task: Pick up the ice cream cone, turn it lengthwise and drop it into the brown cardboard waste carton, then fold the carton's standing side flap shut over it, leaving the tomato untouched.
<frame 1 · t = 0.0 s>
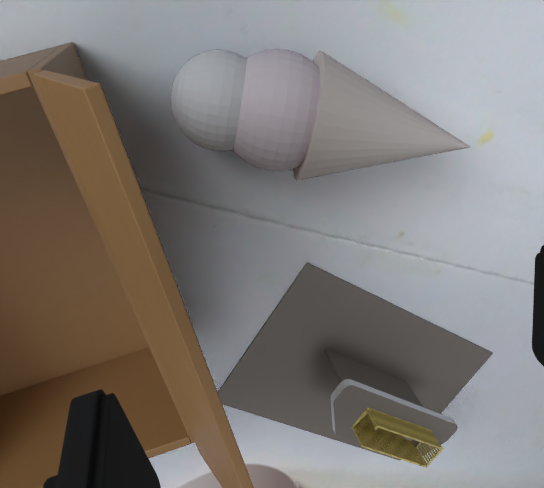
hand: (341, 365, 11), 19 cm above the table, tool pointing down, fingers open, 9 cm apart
ice cream cone: (307, 104, 28), on the table
carton: (22, 247, 28), on the table
flap: (168, 338, 18), point 12 cm above the table, hinge at 110.0°
platform: (359, 373, 37), on the table
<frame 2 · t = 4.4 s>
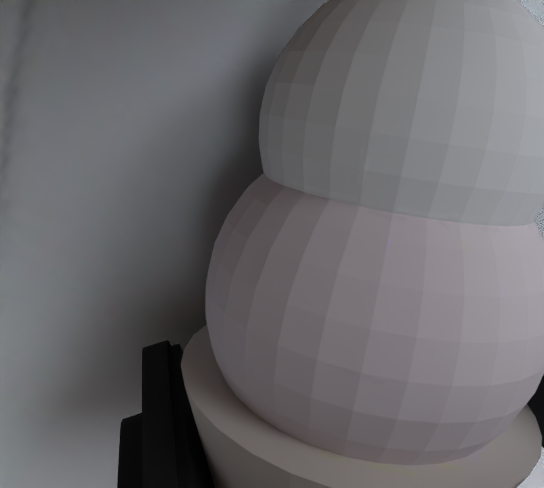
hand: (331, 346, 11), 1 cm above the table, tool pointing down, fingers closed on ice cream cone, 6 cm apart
ice cream cone: (299, 315, 12), on the table, touching gripper
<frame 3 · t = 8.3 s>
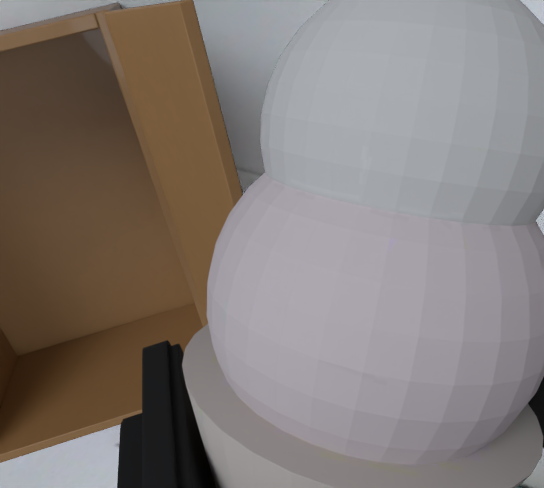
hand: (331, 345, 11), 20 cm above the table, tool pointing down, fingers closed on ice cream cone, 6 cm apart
ice cream cone: (300, 315, 12), point 19 cm above the table, touching gripper
carton: (60, 203, 29), on the table
flap: (220, 270, 19), point 12 cm above the table, hinge at 110.0°
when the fingers open (7 cm above the table, at t = 12.2 s): ice cream cone drops 5 cm, resting on carton.
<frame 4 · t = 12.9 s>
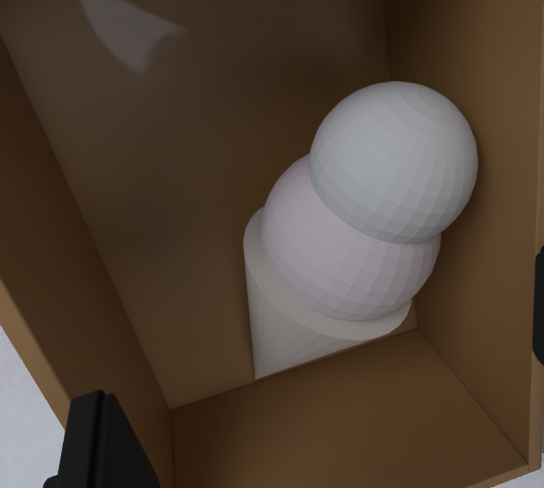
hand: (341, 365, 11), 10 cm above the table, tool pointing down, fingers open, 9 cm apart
ice cream cone: (256, 207, 18), point 2 cm above the table, touching carton
carton: (250, 198, 20), on the table
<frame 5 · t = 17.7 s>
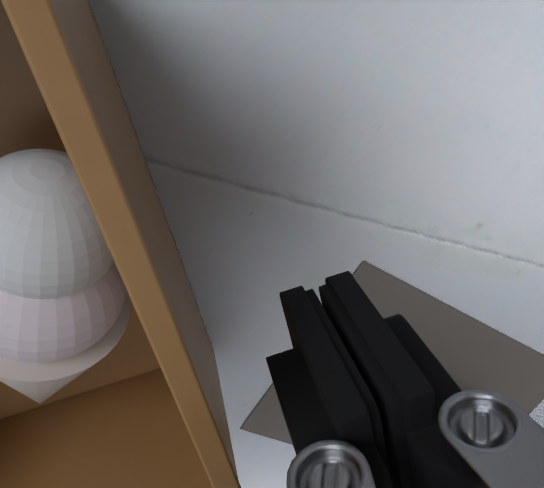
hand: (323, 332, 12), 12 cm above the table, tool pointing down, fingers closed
carton: (4, 238, 21), on the table
flap: (193, 391, 11), point 12 cm above the table, hinge at 98.7°, touching gripper
platform: (415, 394, 31), on the table
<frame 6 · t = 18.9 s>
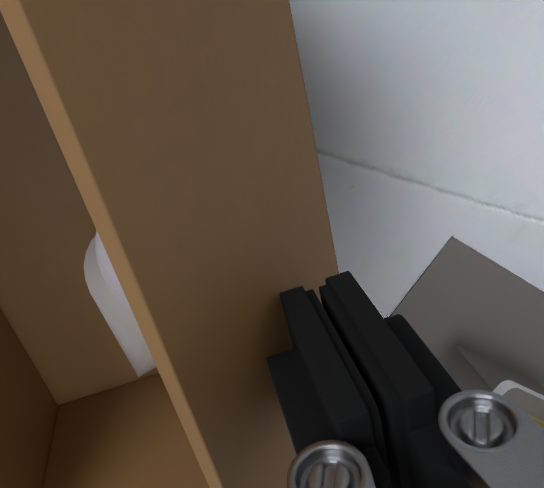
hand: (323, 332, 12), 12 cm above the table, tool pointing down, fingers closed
ice cream cone: (113, 219, 20), point 2 cm above the table, touching carton
carton: (117, 209, 22), on the table
flap: (279, 345, 12), point 12 cm above the table, hinge at 48.5°
platform: (488, 373, 31), on the table
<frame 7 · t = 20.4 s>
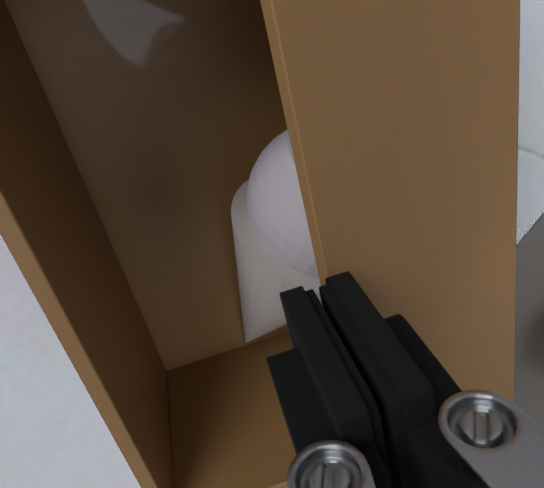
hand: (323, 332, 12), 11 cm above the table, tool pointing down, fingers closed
ice cream cone: (244, 180, 20), point 2 cm above the table, touching carton
carton: (239, 173, 22), on the table
flap: (428, 262, 13), point 10 cm above the table, hinge at 18.1°, touching gripper
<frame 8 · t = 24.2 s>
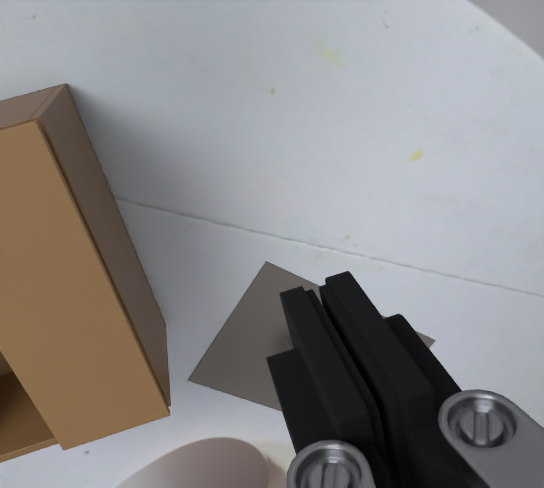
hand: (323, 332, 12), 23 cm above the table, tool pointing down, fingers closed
carton: (24, 248, 33), on the table
flap: (52, 310, 26), point 9 cm above the table, hinge at -0.3°
platform: (316, 358, 43), on the table
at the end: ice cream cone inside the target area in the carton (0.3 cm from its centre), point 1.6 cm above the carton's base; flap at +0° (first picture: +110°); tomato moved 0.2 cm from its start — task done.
